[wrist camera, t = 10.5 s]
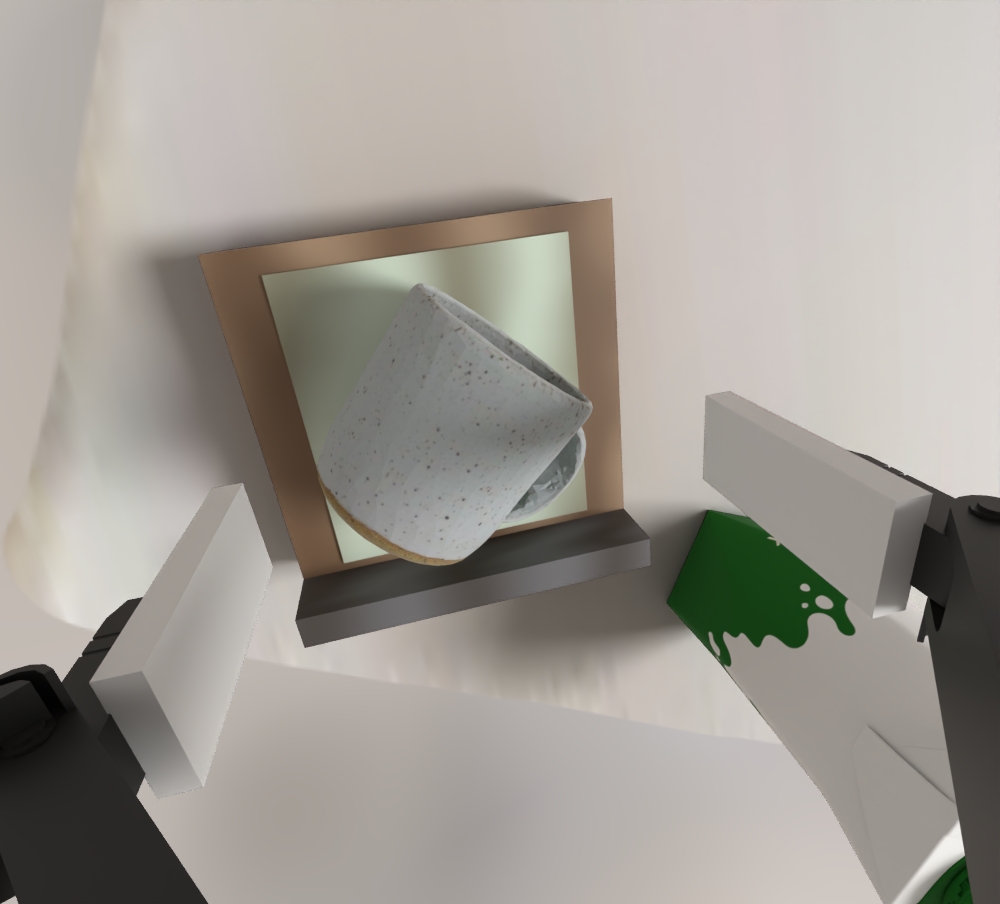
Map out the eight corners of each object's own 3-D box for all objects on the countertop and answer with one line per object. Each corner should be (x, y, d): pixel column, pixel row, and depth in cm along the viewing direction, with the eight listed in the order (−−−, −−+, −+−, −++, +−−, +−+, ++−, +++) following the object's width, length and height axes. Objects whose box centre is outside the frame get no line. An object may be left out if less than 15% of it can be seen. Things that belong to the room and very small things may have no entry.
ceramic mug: (311, 439, 23) (287, 534, 16) (410, 268, 21) (431, 292, 15) (512, 536, 27) (562, 644, 20) (609, 399, 25) (699, 466, 19)
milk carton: (649, 612, 37) (917, 993, 18) (702, 491, 34) (1080, 801, 16) (755, 624, 39) (1083, 970, 21) (813, 513, 36) (1250, 801, 18)
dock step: (579, 202, 26) (644, 194, 20) (596, 498, 32) (650, 565, 26) (225, 250, 24) (169, 259, 17) (319, 558, 30) (304, 647, 24)
